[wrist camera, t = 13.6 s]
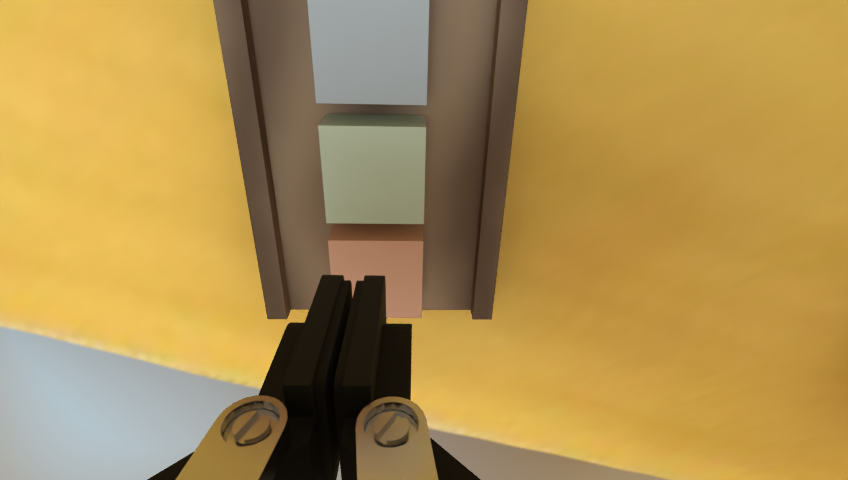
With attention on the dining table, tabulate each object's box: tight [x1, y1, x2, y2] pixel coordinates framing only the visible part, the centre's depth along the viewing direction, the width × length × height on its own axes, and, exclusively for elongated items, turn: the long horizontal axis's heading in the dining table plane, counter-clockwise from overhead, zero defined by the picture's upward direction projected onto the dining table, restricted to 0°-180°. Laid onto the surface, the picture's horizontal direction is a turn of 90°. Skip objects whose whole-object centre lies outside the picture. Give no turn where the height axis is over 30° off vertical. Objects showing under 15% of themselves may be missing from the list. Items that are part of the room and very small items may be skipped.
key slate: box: [307, 0, 429, 105], centre depth 20 cm, size 5×5×2 cm
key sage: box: [318, 114, 426, 224], centre depth 23 cm, size 5×5×2 cm
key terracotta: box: [328, 223, 423, 318], centre depth 26 cm, size 5×5×2 cm
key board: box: [213, 0, 528, 319], centre depth 25 cm, size 14×20×2 cm
